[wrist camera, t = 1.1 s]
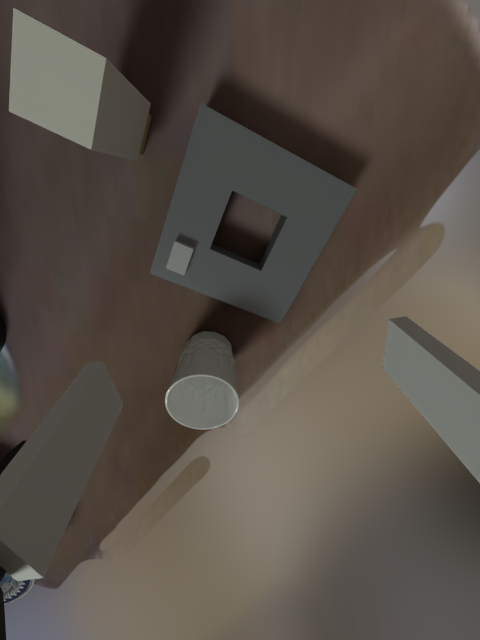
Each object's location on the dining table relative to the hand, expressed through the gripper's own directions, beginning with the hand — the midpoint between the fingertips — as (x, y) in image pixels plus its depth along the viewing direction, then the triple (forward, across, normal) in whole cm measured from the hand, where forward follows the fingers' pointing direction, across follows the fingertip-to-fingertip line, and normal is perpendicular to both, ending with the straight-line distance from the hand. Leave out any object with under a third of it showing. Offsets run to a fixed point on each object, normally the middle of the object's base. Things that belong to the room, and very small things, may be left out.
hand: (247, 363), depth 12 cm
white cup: (+21, -6, -13) cm, 25 cm away
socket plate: (+21, +2, +3) cm, 21 cm away
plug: (+21, -8, +14) cm, 26 cm away
